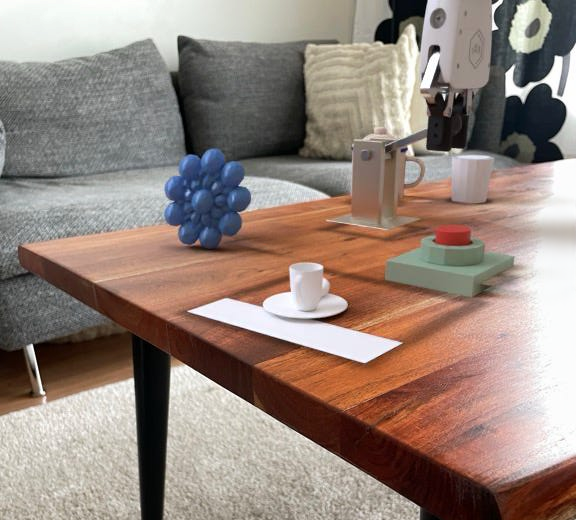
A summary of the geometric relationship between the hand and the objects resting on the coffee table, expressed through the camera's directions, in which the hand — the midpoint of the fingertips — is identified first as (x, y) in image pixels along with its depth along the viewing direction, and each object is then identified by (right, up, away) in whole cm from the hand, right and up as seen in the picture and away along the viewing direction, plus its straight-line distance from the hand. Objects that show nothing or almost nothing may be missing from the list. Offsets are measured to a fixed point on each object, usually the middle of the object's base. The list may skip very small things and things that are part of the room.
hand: (446, 147), depth 90 cm
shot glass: (+10, +1, +30) cm, 32 cm away
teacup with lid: (-4, 0, +28) cm, 29 cm away
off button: (-3, -15, -14) cm, 21 cm away
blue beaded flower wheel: (-29, -13, 0) cm, 32 cm away
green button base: (-2, -18, -13) cm, 22 cm away
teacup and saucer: (-15, -22, -21) cm, 35 cm away
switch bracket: (-8, -8, +10) cm, 15 cm away
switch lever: (-3, 0, +3) cm, 4 cm away
